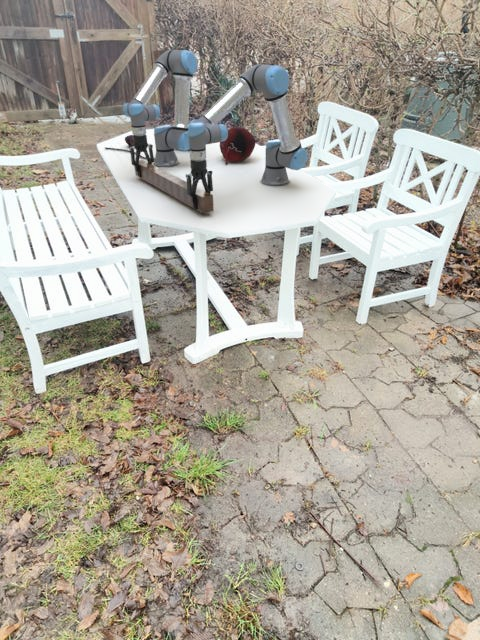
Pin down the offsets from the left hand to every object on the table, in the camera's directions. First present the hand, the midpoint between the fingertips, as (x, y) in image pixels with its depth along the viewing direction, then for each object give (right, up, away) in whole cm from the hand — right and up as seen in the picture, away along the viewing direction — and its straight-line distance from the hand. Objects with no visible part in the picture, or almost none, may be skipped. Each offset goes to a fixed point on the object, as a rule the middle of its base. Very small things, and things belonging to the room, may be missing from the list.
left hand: (144, 176), depth 264 cm
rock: (-23, +43, +68) cm, 84 cm away
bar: (+18, -15, -21) cm, 32 cm away
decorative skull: (+54, +23, +37) cm, 69 cm away
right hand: (+37, -29, -43) cm, 64 cm away
